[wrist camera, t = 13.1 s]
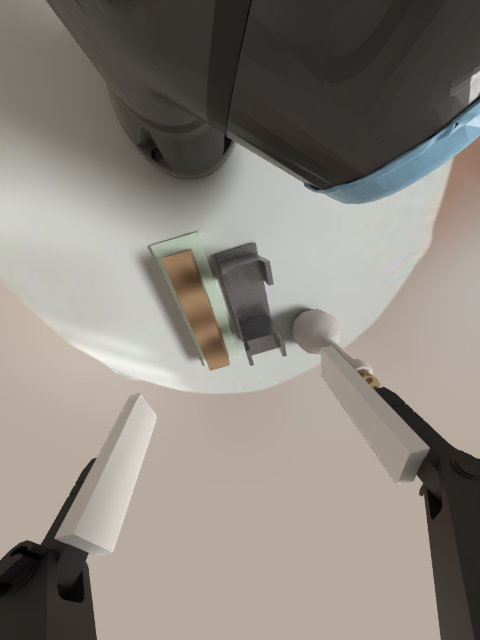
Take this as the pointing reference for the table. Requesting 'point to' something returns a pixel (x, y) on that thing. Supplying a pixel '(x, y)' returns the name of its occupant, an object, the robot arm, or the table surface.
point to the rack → (250, 298)
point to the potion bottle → (326, 340)
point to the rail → (197, 307)
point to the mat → (206, 274)
